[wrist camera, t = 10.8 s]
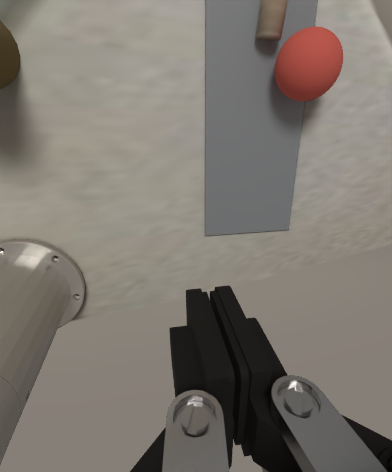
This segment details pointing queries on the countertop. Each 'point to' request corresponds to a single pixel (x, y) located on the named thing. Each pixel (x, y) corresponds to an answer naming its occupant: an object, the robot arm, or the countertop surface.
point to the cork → (8, 57)
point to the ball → (308, 63)
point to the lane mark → (249, 120)
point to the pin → (271, 19)
